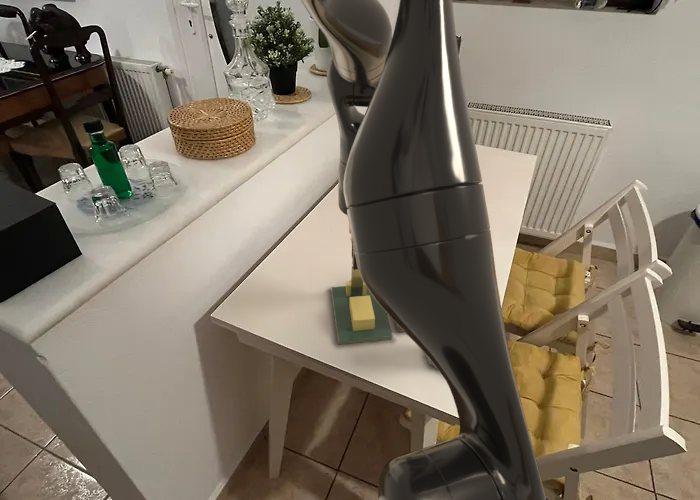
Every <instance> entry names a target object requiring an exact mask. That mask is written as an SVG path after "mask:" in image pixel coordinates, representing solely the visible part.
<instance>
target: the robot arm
mask: <svg viewBox="0 0 700 500" xmlns="http://www.w3.org/2000/svg"><path fill="white" fill-rule="evenodd" d="M300 1H301V2H300V3H302V5H303V6H304V8H305V9H306V11H307V12H308V14H309V16H310V17H311V18H312V20H313V22H314V23H315V24H316V26H317V28H318V29H319V30H320V32H321V33H322V34H323V36H324V38H325V40H326V42H327V44H328V45H327V46H328V48H329V50H330V54H331V59H330V62H329V64H328V66H327V71H326V84H327V89H328V92H329V96H330V100H331V102H332V106H333V109H334V111H335V116H336V120H337V124H338V130H339V164H338V177H337V179H338V180H337V181H338V182H337V183H338V186H337V187H338V196H337V197H338V208H339V210H340V211H341V212H342V213H343V214H344V215H346V216H347V222H348V232H349V234H350V239H349V240H350V242H351V259H352V260H353V264H352V266H353V265H354V267H355V268H358V271H359V273H360V276H361V279H362V280H363V282H364V284H365V286H366V288H367V289H368V290H369V292H370V293H371V295H372V296H373V297H374V299H375V300H376V301H377V303H378V304H379V305H380V306H381V307H382V308H383V309H384V311H385V312H386V314H387V316H389V318H390V319H391V320H392V321H393V322H394V324H395V325H396V324H397V325H398V326H399V327H400V328H401V329H402V330H403V331H404V332H403V333H405V334H406V335H407V336H408V337H409V338H410V339H411V340H412V342H413V343H415V345H417V346H418V348H420V350H421V351H422V352H423V353H424V355H425V356H426V355H427V356H428V357H429V359H430V360H431V361H432V362H433V363H434V365H435V366H436V367H437V368H436V367H435V368H436V369H437V370H438V372H439V373H440V374H441V376H442V377H443V379H444V380H445V382H446V384H447V386H448V388H449V390H450V393H451V395H452V398H453V401H454V404H455V408H456V411H457V415H458V422H459V432H458V436H456V437H453V438H450V439H446V440H444V441H440V442H438V443H435V444H431V445H429V446H426V447H423V448H419V449H417V450H414V451H410V452H408V453H404V454H402V455H399V456H396V457H394V458H391V459H390V460H389V461H387V462H386V464H384V466H383V467H382V470H381V472H380V475H379V478H378V487H377V500H547V497H546V492H545V488H544V485H543V481H542V477H541V473H540V469H539V465H538V459H537V458H536V453H535V449H534V445H533V443H532V442H533V441H532V437H531V434H530V429H529V427H528V423H527V418H526V415H525V411H524V407H523V403H522V400H521V395H520V392H519V387H518V383H517V379H516V375H515V372H514V366H513V363H512V358H511V352H510V347H509V341H508V336H507V331H506V326H505V325H506V324H505V321H504V315H503V309H502V304H501V297H500V291H499V286H498V278H497V271H496V264H495V263H496V262H495V257H494V249H493V241H492V239H493V238H492V232H491V225H490V219H489V212H488V206H487V200H486V194H485V188H484V184H483V177H482V171H481V168H480V167H481V166H480V163H479V157H478V152H477V147H476V142H475V136H474V132H473V128H472V122H471V117H470V111H469V106H468V100H467V95H466V94H467V93H466V89H465V83H464V79H463V73H462V66H461V61H460V55H459V54H460V53H459V47H458V39H457V32H456V22H455V15H454V14H455V13H454V4H453V0H399V4H398V11H397V16H396V20H395V26H394V31H393V28H392V24H391V21H390V17H389V15H388V12H387V10H386V9H385V7H384V6H383V4H381V2H380V1H379V0H300ZM357 107H358V108H359V107H362V108H366V110H365V113H361V112H360V111H359V110H358V109H357ZM353 252H354V256H353Z"/></svg>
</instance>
